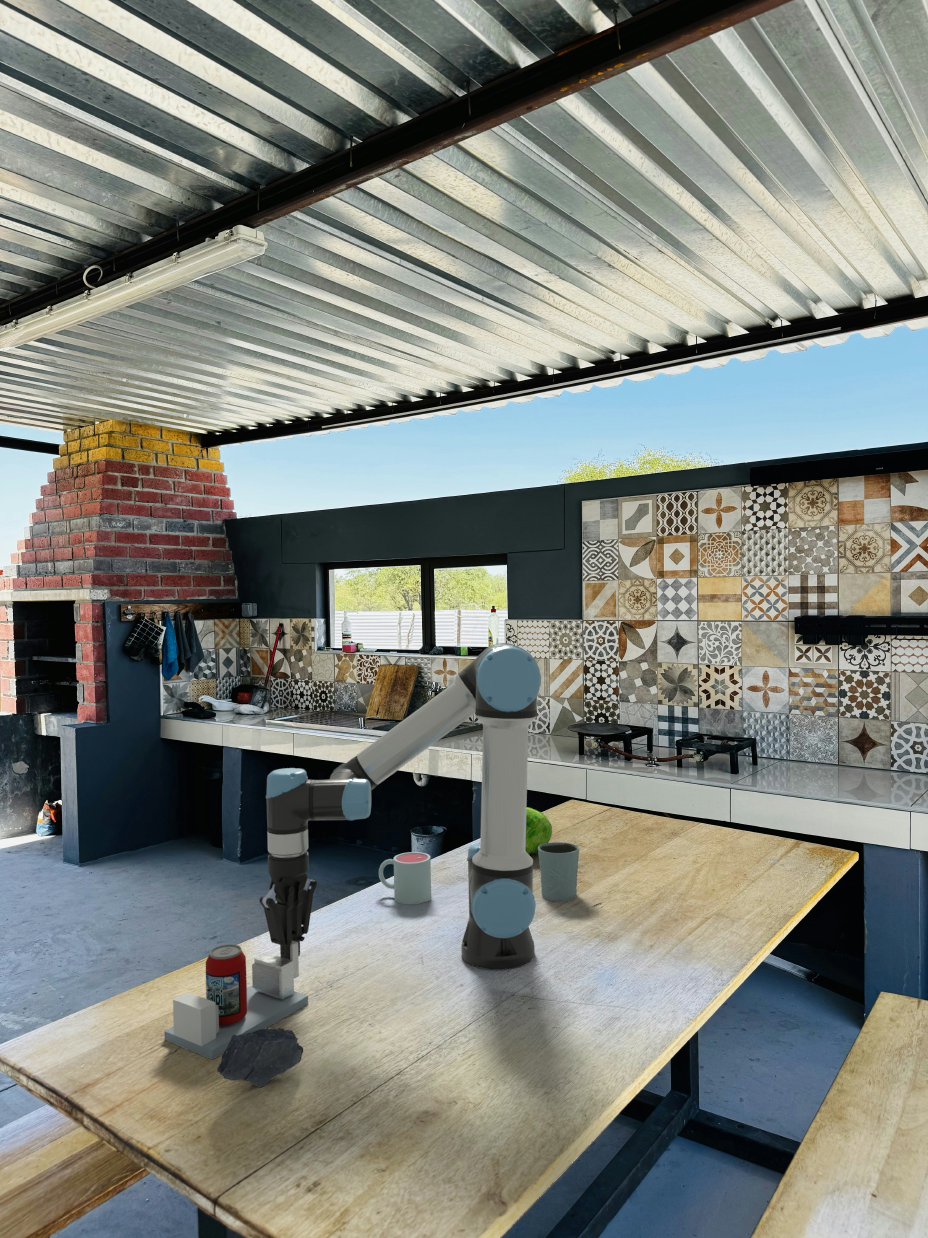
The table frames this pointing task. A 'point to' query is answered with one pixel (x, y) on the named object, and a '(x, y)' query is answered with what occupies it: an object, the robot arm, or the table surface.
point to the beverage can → (227, 983)
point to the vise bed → (210, 1040)
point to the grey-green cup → (558, 870)
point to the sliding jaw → (273, 975)
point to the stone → (260, 1055)
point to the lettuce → (536, 830)
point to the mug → (409, 877)
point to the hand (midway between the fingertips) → (290, 976)
